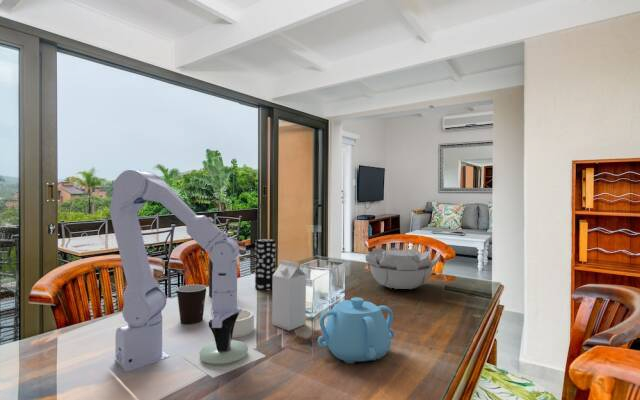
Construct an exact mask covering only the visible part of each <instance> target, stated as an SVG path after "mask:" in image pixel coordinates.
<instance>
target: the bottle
mask: <svg viewBox="0 0 640 400" xmlns="http://www.w3.org/2000/svg"><path fill="white" fill-rule="evenodd" d="M212 271H213V263H212V261H211V260H210V258H209V257H208V296H209V297H211V298H212Z"/></svg>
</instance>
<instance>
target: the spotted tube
mask: <svg viewBox="0 0 640 400" xmlns="http://www.w3.org/2000/svg"><path fill="white" fill-rule="evenodd" d="M276 241H277V240H276V239H274V238H273V239H271V238H260V239H259V238H258V239H255V251H254V252H255V255H254V256H255V258H254V259H255V261H254V263H255V266H254V267H255V269H254V270H255V271H254V272H255V273H254V282H255V283H254V289H255V290H257V291H259V290H260V291H261V292H265V291H266V290H269V291H272V281H273V274H274V272H275V271H276V269H277V268H276V266H277V263H276V260H277V259H276V258H277V257H276V255H277V254H276V253H277V251H276V247H277V244H276V243H277V242H276ZM266 292H267V291H266Z"/></svg>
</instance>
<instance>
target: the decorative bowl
mask: <svg viewBox="0 0 640 400" xmlns="http://www.w3.org/2000/svg"><path fill="white" fill-rule="evenodd" d="M440 259H441V254H439V255H438V256H437V257H435V258H434V259H432V260H431V252H430V251H429V250H427V251H426V250H425V251H424V252H423V253H421V252H420V251H419V249H417V248H414V247H413V248H410V249H409V248H407V249H406V250H405V249H399V248H396V247H391V248H390V249H389V250H386V249H383V248H380V249H378V248H376V247H373V248H372V250H371V251H370V250H368V251H367V254H365V261H366V262H367V264H368V265H369V267H370V272H371V274H372V276H373V278H374V279H375V281H376V282H377V283H378V284H379V285H381V286H384V287H387V288H389V289H392V288H394V289H393V290H397V289H409V290H413V289H416V288H418V287H421V285H422V286H423V285H425V284H426V283H427V281H428V280H429V278H430V277H431V275H432V272H433V271H432V270H433V267H435V265H437V264H438V262H439V260H440Z"/></svg>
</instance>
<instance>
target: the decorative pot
mask: <svg viewBox="0 0 640 400" xmlns="http://www.w3.org/2000/svg"><path fill="white" fill-rule="evenodd" d="M383 311H387V319H386V318H385V316H384V314H383ZM326 318H327V321H326V324H325V319H326ZM393 319H394V312H393V310H392V309H391V308H390V307H389V306H386V305H383V304H382V305H378V306H377V305H376V304H374V303H373V302H370V301H366V300H365V299H364V298H363V297H352V298H350V299H345V300H343V301H342V302H339V303H335V304H334V306H333V308H332V309H327V310H326V311H324V312H322V313H321V315H320V316H319V327H320V330H321V333H322V335H319V337H318V338H317V344H318V346H319V347H321V348H328V350H329V351H330V353H332V354H333V356H335V357H336V358H337V359H338V360H341V361H343V362H344V363H345V362H346V364H348V363H352V364H354V363H356V362H368V361H377V360H376V359H379V358H380V359H381V358H383V357H384V356H385V355H386V354H387V353H388V351H389V350H390V349H391V345H392V339H394V337H395V331H394V330H393V329H392V328H391V326H392V324H393ZM323 339H324V341H322V340H323ZM380 359H379V360H380ZM353 362H354V363H353Z"/></svg>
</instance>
